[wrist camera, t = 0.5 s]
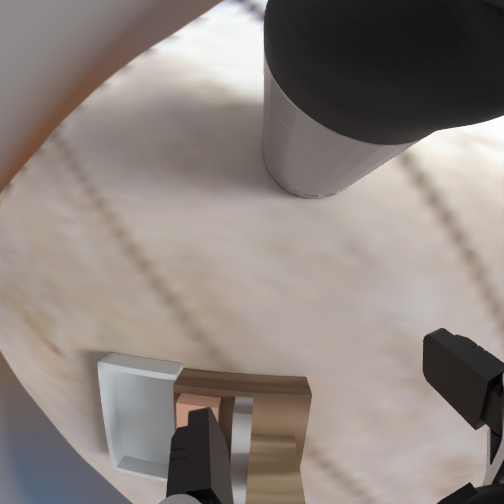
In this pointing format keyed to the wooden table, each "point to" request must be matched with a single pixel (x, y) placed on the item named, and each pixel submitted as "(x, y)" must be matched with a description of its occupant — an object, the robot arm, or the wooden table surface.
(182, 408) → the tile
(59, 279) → the wooden table surface
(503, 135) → the wooden table surface
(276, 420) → the board
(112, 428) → the tray
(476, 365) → the robot arm
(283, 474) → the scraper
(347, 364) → the wooden table surface
